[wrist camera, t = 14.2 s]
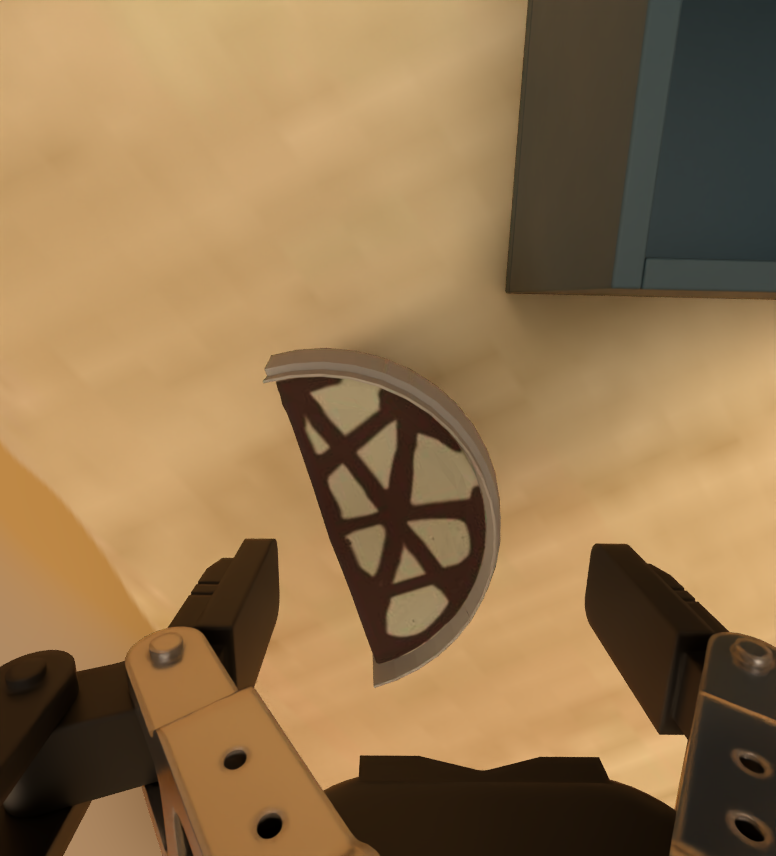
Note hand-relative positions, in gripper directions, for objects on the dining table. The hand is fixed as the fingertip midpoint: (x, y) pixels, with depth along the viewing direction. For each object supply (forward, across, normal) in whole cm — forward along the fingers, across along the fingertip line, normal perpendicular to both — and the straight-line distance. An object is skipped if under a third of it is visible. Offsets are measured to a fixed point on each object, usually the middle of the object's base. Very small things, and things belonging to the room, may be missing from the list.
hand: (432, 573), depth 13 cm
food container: (+13, 0, 0) cm, 13 cm away
